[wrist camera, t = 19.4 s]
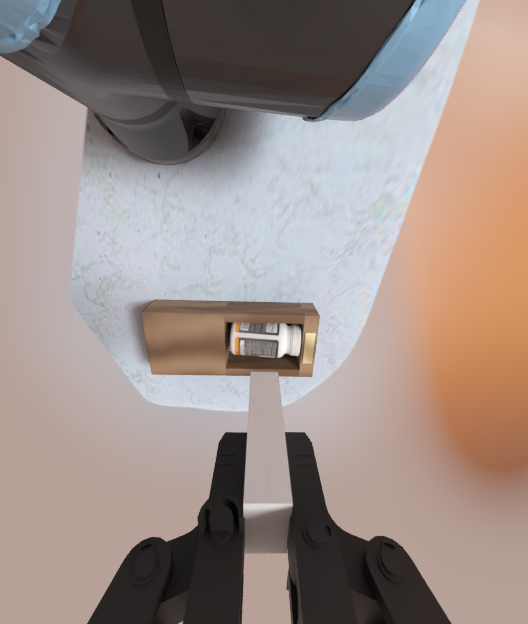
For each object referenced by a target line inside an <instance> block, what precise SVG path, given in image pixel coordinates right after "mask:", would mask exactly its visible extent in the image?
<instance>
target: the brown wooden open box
mask: <svg viewBox="0 0 528 624" xmlns="http://www.w3.org/2000/svg"><path fill="white" fill-rule="evenodd" d="M141 315H142V321H143V327H144V333H145V339H146V344H147V350H148V356H149V362H150V367H151V373H152V374H163V375H228V376H251V372H278V376H292V377H312V373H313V365H314V357H315V350H316V342H317V334H318V326H319V318H320V316H319V314H318V312H317V310H316V309H315V307H314V305H313V303H276V302H233V301H190V300H155V301H154V302H152V303H151V304H150V305H149V306H148V307H146V308H145V309H144V310H143V311H142V312H141ZM229 322H242V323H289V324H300V326H301V345H300V352H299V355H298V356H291V355H289V354H287V353H286V354H284V355H283V356H282V357H280V358H272V357H259V356H247V355H235V354H233V353H232V352H231V351H229Z"/></svg>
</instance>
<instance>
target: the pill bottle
mask: <svg viewBox="0 0 528 624" xmlns="http://www.w3.org/2000/svg"><path fill="white" fill-rule="evenodd" d="M300 345H301V326H300V324H291V325H286V323H242V322H233V323H232V328H231V335H230V349H231V352H232V353H233V354H235V355H247V356H259V357H272V358H280V357H282V356H283V355H284V354H286V353H287V354H289V355H291V356H298V355H299V352H300Z"/></svg>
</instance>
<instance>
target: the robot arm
mask: <svg viewBox="0 0 528 624" xmlns="http://www.w3.org/2000/svg"><path fill="white" fill-rule="evenodd" d="M465 2H466V0H0V56H2V57H3V58H5V59H7V60H9V61H10V62H12V63H14V64H15V65H17V66H19V67H21V68H22V69H24V70H25V71H27V72H29V73H31V74H32V75H34V76H36V77H37V78H39V79H41V80H42V81H44V82H46V83H48V84H49V85H51V86H53V87H54V88H56V89H58V90H59V91H61V92H63V93H64V94H66V95H68V96H70V97H71V98H73V99H75V100H76V101H78V102H80V103H81V104H83V105H85V106H87V107H88V108H90V110H91V111H92V112H93V113H94V115H95V117H96V118H97V120H98V121H99V122H100V124H101V125H102V126H103V128H104V129H105V130H106V131H107V132H108V134H109V135H110V136H111V137H112V138H113V139H115V140H116V141H117V142H118V143H119V144H120V145H122V146H123V147H124V148H126V149H127V150H129V151H130V152H132V153H134V154H136V155H138V156H140V157H142V158H144V159H146V160H149V161H152V162H155V163H159V164H180V163H184V162H187V161H190V160H192V159H194V158H196V157H197V156H199V155H200V154H201V153H203V152H204V151H205V150H206V149H207V148H208V147H209V146H210V145H211V143H212V142H213V141H214V139H215V137H216V136H217V134H218V132H219V130H220V128H221V125H222V122H223V119H224V115H225V111H226V108H230V109H239V110H248V111H256V112H265V113H273V114H282V115H290V116H299V117H302V118H303V120H305V121H308V122H317V121H322V120H325V119H328V120H343V121H358V120H362V119H365V118H366V117H368V116H372V115H374V114H375V113H377V112H379V111H381V110H382V109H384V108H385V107H386V106H387V105H389V104H390V103H391V102H392V101H393V100H394V99H395V98H396V97H397V96H398V95H399V94H400V93H401V92H402V91H403V90H404V89H405V88H406V87H407V86H408V85H409V84H410V82H411V81H412V80H413V79H414V78H415V76H416V75H417V74H418V73H419V71H420V70H421V69H422V67H423V66H424V65H425V63H426V62H427V61H428V59H429V58H430V57H431V55H432V54H433V52H434V51H435V49H436V48H437V46H438V45H439V43H440V42H441V40H442V39H443V38H444V36H445V35H446V33H447V32H448V30H449V28H450V27H451V25H452V23H453V22H454V20H455V18H456V17H457V15H458V13H459V12H460V10H461V8H462V7H463V5H464V4H465ZM287 549H288V560H289V571H288V578H287V590H289V598H290V611H291V624H451V622H450V621H449V619H448V618H447V616H446V614H445V613H444V611H443V609H442V608H441V606H440V605H439V603H438V602H437V600H436V598H435V597H434V595H433V593H432V592H431V590H430V589H429V587H428V586H427V584H426V582H425V580H424V579H423V577H422V576H421V574H420V572H419V571H418V569H417V567H416V566H415V564H414V562H413V561H412V559H411V558H410V556H409V555H408V554H407V552H406V551H405V550H404V549H403V547H402V546H400V545H399V544H398V543H397V542H395V541H394V540H393V539H390V538H388V537H385V536H376V537H374V538H373V539H371V540H370V541H367V540H364V539H362V538H359V537H356V536H354V535H351V534H349V533H347V532H345V531H344V530H342V529H341V528H340V527H338V526H337V524H336V523H335V522H334V521H333V520H332V518H331V517H330V515H329V513H328V510H327V507H326V504H325V499H324V495H323V490H322V486H321V481H320V477H319V472H318V468H317V463H316V459H315V456H314V450H313V446H312V442H311V441H310V439H309V438H308V436H307V435H306V434H305V433H303V432H302V433H300V432H298V433H297V432H285V431H284V421H283V412H282V403H281V394H280V385H279V376H278V372H251V377H250V395H249V412H248V431H247V433H233V432H229V433H228V432H226V433H225V434H224V436H223V437H222V439H221V440H220V442H219V445H218V450H217V457H216V462H215V468H214V473H213V479H212V484H211V490H210V496H209V499H208V500H207V501H206V502H205V504H204V505H203V506H202V508H201V510H200V512H199V515H198V526H197V527H195V528H194V529H193V530H192V531H191V532H189V533H187V534H185V535H183V536H180V537H178V538H176V539H173V540H170V541H168V542H166V541H164V540H163V539H161V538H158V537H150V538H148V539H145V540H143V541H141V542H140V543H139V544H137V545H136V546H135V547H134V548H132V550H131V551H130V553H129V554H128V555H127V556H126V558H125V559H124V561H123V563H122V565H121V566H120V568H119V570H118V571H117V573H116V575H115V576H114V578H113V580H112V582H111V583H110V585H109V587H108V589H107V591H106V592H105V594H104V596H103V597H102V599H101V601H100V603H99V604H98V606H97V608H96V609H95V611H94V613H93V615H92V616H91V618H90V620H89V622H88V623H87V624H178V623H180V622H182V621H183V624H242V602H243V601H242V600H243V569H244V553H287Z"/></svg>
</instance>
